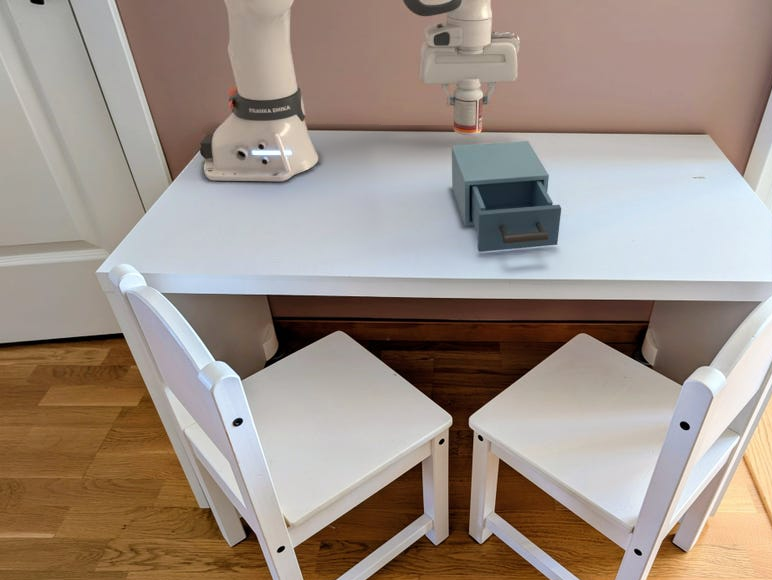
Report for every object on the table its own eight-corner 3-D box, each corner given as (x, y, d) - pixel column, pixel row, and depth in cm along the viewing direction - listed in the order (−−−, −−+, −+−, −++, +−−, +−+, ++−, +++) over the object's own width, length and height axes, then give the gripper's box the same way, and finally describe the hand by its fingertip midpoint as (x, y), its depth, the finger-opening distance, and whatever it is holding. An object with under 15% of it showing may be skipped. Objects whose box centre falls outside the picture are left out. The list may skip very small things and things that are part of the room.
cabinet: (544, 220, 110) (549, 175, 104) (465, 226, 108) (464, 181, 102) (525, 183, 120) (528, 140, 115) (452, 189, 118) (451, 145, 112)
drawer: (565, 259, 99) (569, 221, 94) (483, 267, 97) (484, 229, 92) (536, 206, 112) (539, 171, 107) (464, 212, 110) (464, 176, 105)
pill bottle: (469, 123, 136) (471, 69, 129) (487, 132, 133) (489, 77, 125) (447, 129, 133) (447, 74, 126) (465, 138, 130) (466, 82, 122)
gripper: (516, 27, 124) (512, 97, 133) (416, 28, 121) (418, 100, 130) (524, 35, 119) (518, 107, 128) (419, 37, 116) (422, 110, 125)
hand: (467, 104), depth 129 cm, fingers closed on pill bottle, 6 cm apart
